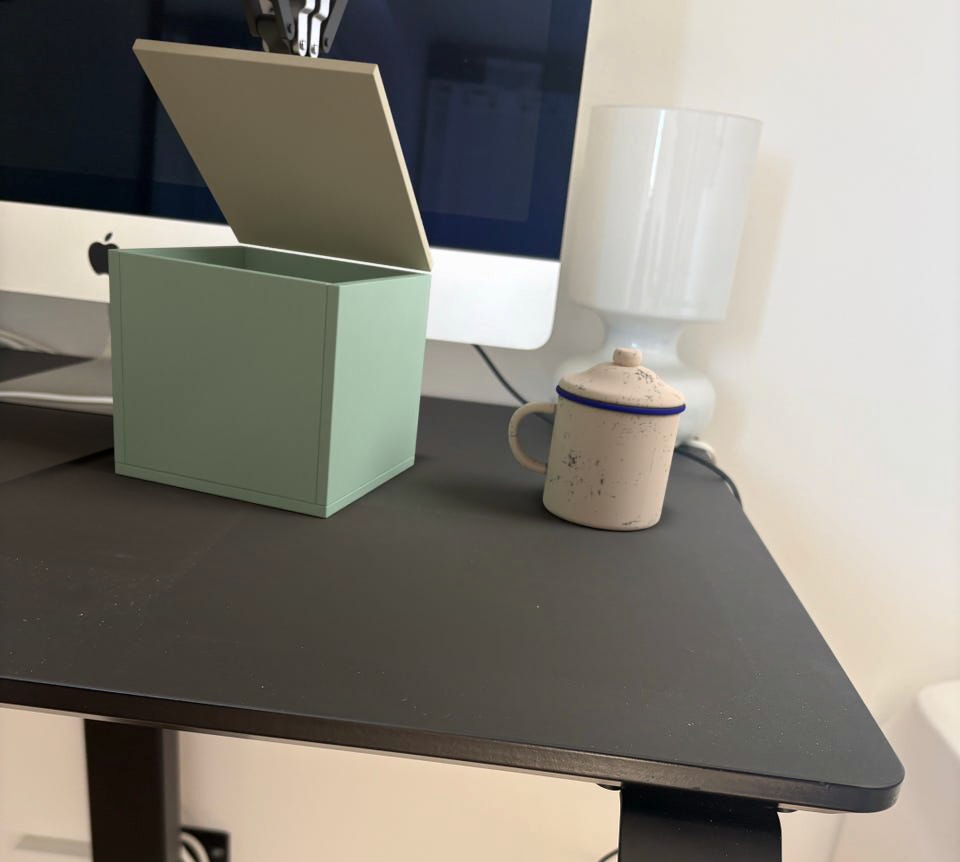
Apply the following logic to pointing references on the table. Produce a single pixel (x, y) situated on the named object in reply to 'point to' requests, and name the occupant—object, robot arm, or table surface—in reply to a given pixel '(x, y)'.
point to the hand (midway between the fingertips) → (288, 123)
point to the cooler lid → (293, 150)
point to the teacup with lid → (607, 444)
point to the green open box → (265, 373)
